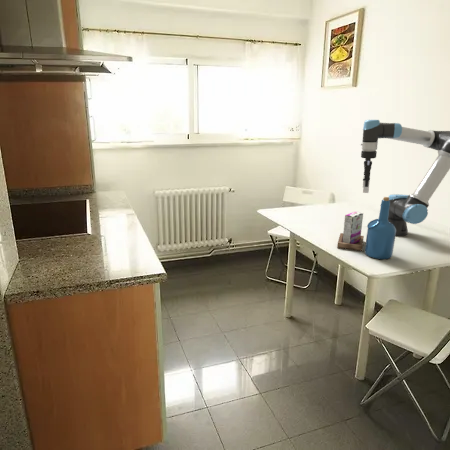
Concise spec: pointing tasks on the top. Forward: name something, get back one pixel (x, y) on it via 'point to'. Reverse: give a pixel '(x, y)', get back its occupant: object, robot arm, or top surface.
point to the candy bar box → (352, 228)
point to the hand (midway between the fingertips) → (365, 190)
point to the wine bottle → (381, 234)
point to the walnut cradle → (349, 246)
